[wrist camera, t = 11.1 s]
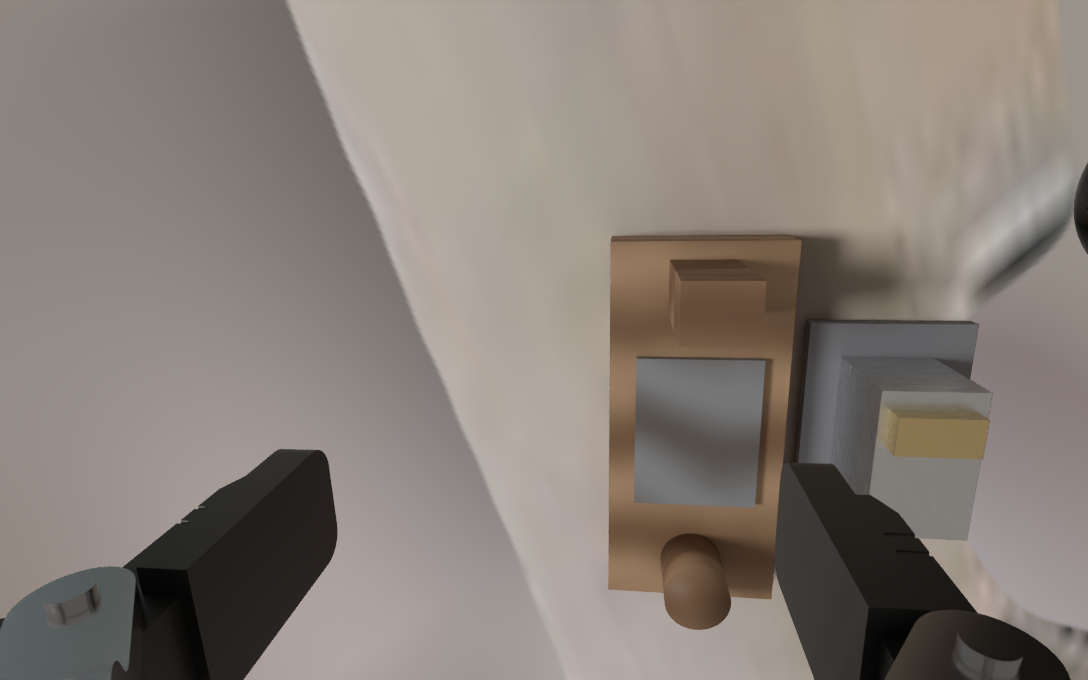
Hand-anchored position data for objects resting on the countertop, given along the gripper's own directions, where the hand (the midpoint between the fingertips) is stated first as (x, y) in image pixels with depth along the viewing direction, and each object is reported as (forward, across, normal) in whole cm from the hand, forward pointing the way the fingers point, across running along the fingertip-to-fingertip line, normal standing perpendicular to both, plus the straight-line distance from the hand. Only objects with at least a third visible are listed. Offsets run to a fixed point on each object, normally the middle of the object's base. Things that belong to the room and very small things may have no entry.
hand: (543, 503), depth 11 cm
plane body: (+28, -6, +10) cm, 30 cm away
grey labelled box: (+27, -16, +10) cm, 33 cm away
